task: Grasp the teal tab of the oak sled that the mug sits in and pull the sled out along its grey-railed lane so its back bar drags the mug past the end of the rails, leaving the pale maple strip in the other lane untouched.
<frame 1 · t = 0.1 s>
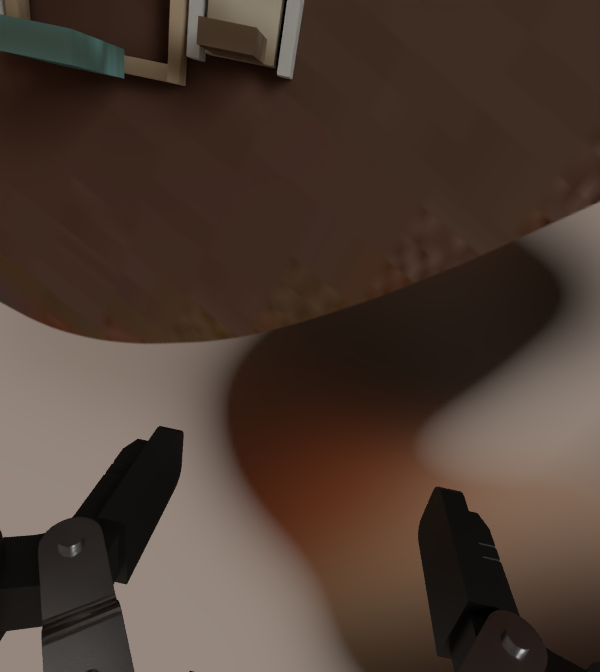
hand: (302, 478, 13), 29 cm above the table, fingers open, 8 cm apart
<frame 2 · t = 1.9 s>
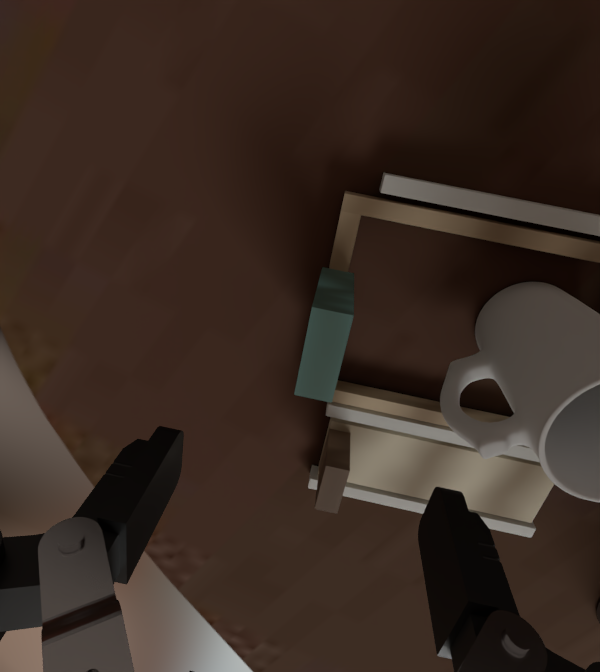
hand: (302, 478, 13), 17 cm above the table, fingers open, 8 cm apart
mug: (496, 331, 29), resting in sled
sled: (475, 355, 24), point 5 cm above the table, slide at 0.0 cm
lane rails: (463, 379, 30), on the table
plain strip: (437, 487, 31), point 3 cm above the table, slide at 0.0 cm
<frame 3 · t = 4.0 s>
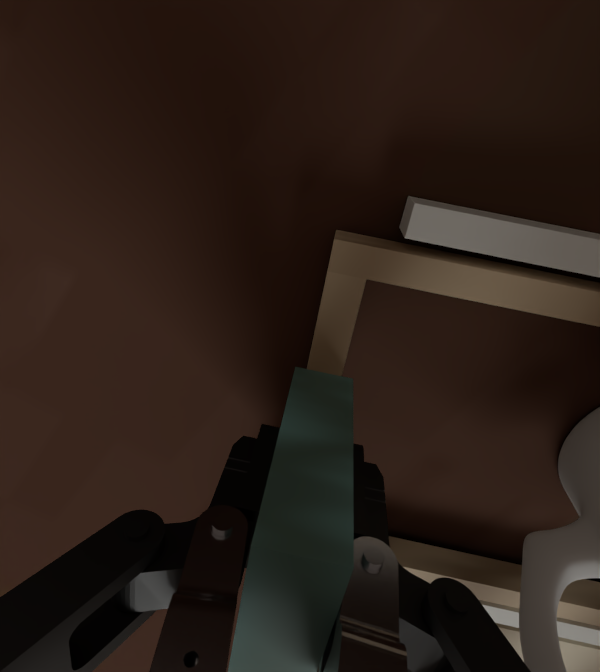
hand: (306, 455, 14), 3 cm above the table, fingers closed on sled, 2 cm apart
mug: (594, 460, 17), resting in sled
sled: (585, 549, 13), point 5 cm above the table, slide at 0.0 cm, touching gripper
lane rails: (530, 527, 18), on the table
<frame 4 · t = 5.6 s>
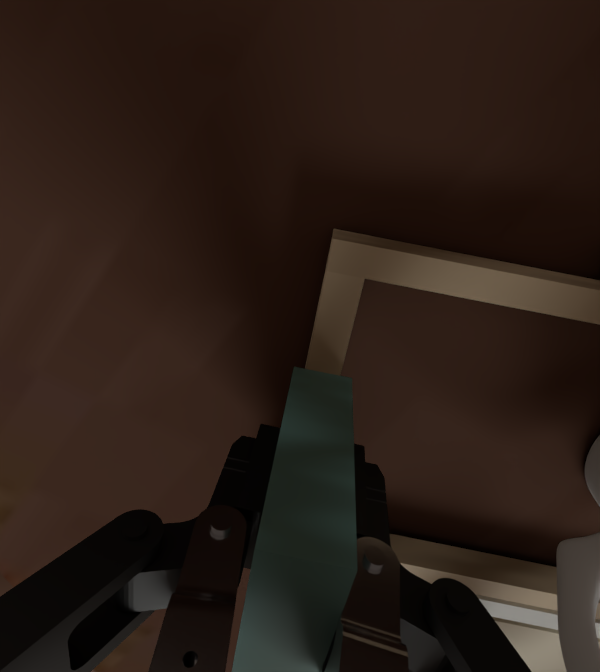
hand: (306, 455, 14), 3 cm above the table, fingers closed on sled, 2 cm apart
sled: (583, 544, 13), point 5 cm above the table, slide at 6.7 cm, touching gripper, mug
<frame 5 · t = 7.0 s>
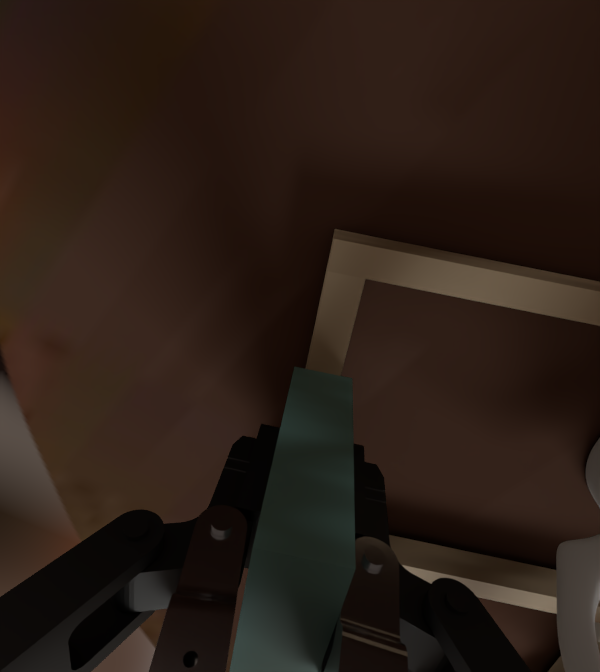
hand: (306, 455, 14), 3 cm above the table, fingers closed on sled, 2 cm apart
sled: (584, 546, 13), point 5 cm above the table, slide at 13.4 cm, touching gripper, mug
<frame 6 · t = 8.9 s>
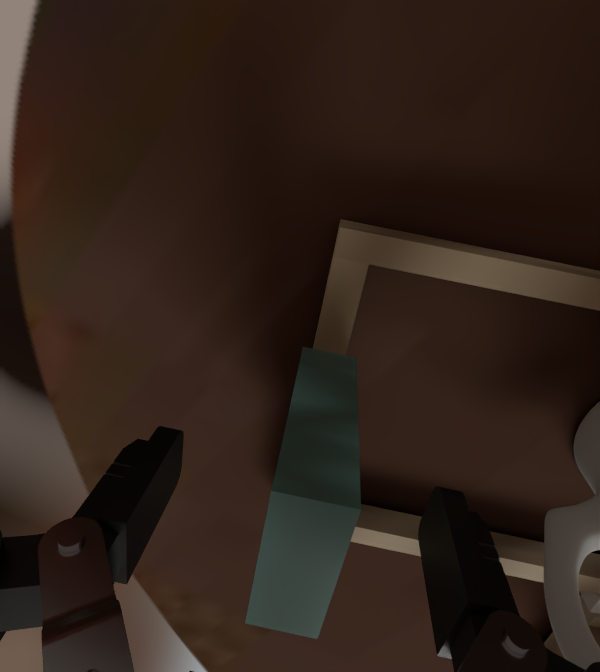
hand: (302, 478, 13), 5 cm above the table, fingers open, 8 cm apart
sled: (569, 509, 14), point 5 cm above the table, slide at 13.5 cm
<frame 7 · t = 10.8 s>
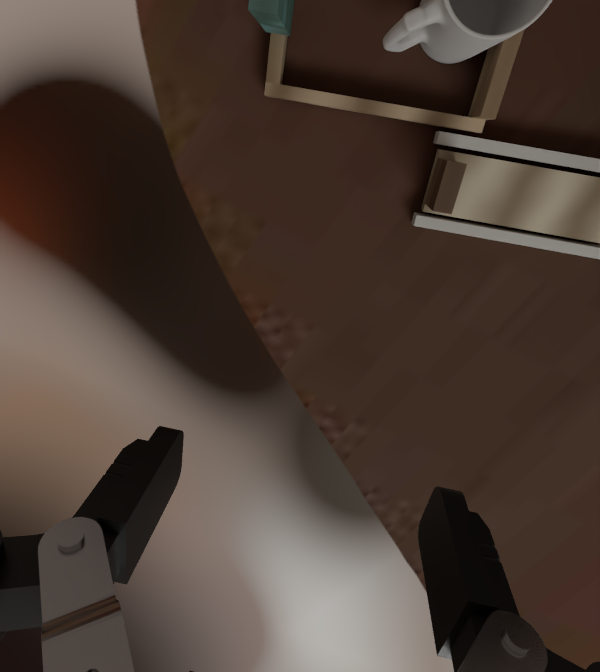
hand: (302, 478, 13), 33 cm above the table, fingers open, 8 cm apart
mug: (434, 29, 35), resting in sled
sled: (394, 4, 31), point 4 cm above the table, slide at 13.5 cm
lane rails: (551, 105, 36), on the table
plain strip: (530, 200, 37), point 3 cm above the table, slide at 0.0 cm
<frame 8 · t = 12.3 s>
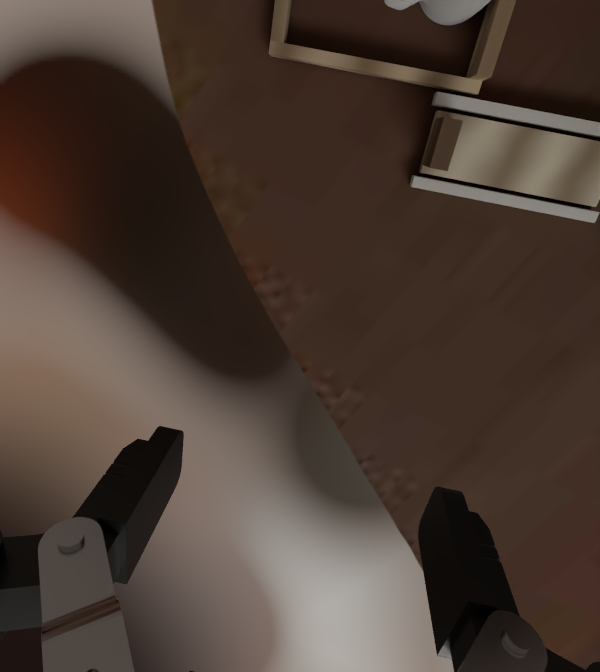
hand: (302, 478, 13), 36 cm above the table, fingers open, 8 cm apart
lane rails: (546, 69, 37), on the table
plain strip: (524, 160, 38), point 3 cm above the table, slide at 0.0 cm
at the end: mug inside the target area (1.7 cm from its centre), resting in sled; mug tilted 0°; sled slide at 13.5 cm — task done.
